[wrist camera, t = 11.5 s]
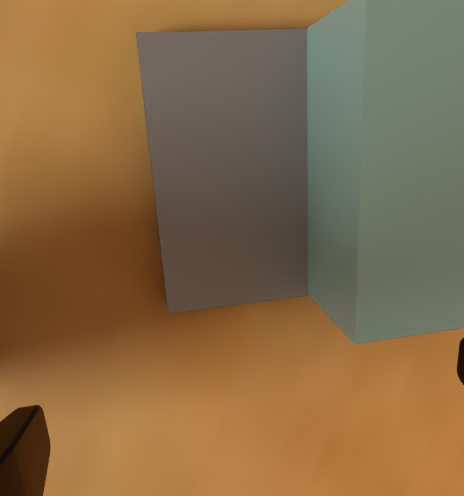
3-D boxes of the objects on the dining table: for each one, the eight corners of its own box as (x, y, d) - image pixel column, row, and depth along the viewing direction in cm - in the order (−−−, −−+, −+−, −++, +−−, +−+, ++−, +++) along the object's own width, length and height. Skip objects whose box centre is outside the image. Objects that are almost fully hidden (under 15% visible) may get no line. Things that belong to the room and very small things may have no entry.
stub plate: (167, 303, 20) (171, 345, 16) (137, 39, 17) (132, 11, 13) (516, 258, 24) (589, 284, 20) (549, 28, 20) (646, 2, 16)
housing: (307, 295, 20) (354, 344, 16) (307, 28, 17) (366, -12, 12) (417, 281, 21) (492, 323, 17) (437, 25, 18) (538, -13, 13)
